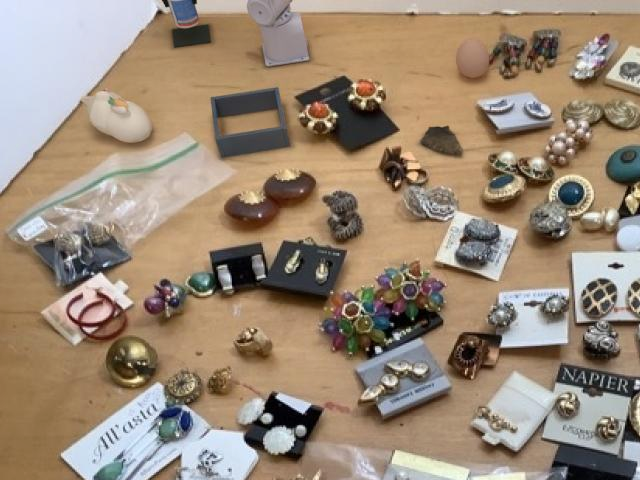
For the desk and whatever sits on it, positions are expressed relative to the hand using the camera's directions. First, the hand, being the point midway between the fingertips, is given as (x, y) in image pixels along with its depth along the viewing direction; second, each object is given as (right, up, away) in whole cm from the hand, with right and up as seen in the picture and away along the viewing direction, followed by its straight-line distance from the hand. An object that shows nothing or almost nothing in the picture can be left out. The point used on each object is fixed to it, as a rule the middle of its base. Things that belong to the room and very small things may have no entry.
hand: (181, 3), depth 177 cm
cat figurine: (-6, -32, -13) cm, 36 cm away
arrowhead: (+59, -35, -14) cm, 70 cm away
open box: (+20, -32, -13) cm, 39 cm away
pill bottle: (0, -3, +4) cm, 5 cm away
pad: (0, -5, +6) cm, 8 cm away
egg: (+64, -16, -1) cm, 66 cm away
